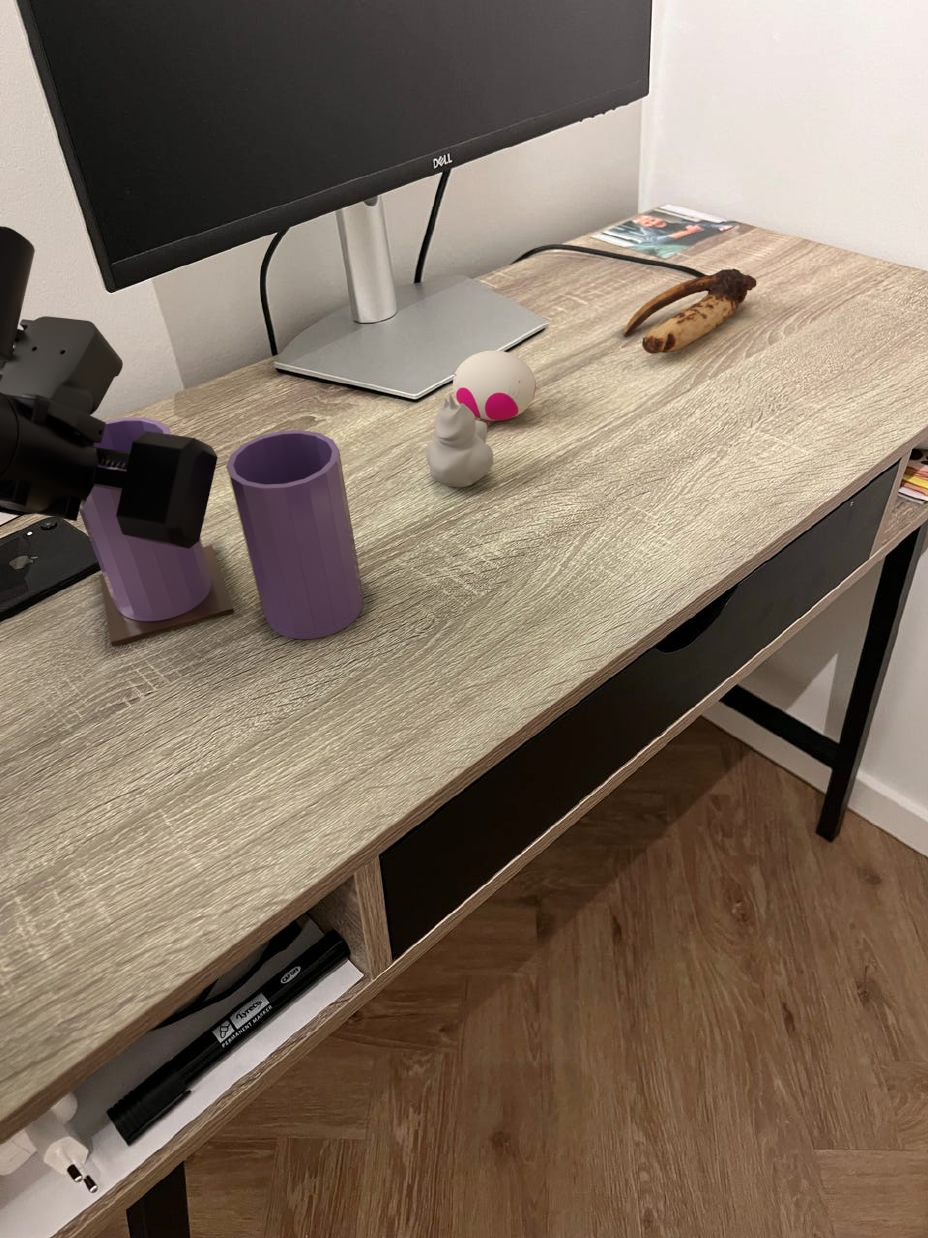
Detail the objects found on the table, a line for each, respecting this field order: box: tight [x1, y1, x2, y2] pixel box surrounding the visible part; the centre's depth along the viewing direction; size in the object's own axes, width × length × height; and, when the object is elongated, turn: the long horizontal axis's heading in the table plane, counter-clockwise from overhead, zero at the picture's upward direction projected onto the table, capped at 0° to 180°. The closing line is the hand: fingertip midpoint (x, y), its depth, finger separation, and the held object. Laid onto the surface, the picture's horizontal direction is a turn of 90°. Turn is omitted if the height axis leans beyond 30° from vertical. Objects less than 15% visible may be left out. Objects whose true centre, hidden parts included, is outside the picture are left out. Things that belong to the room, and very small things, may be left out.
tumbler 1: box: [79, 417, 212, 621], centre depth 66 cm, size 7×7×12 cm
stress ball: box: [452, 350, 537, 426], centre depth 86 cm, size 8×8×7 cm
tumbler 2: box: [225, 429, 364, 640], centre depth 64 cm, size 7×7×12 cm
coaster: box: [98, 544, 235, 647], centre depth 70 cm, size 8×8×1 cm
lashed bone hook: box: [622, 268, 757, 355], centre depth 97 cm, size 9×5×18 cm
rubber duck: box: [425, 393, 494, 488], centre depth 77 cm, size 5×7×8 cm
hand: (150, 502), depth 67 cm, fingers closed on tumbler 1, 7 cm apart
